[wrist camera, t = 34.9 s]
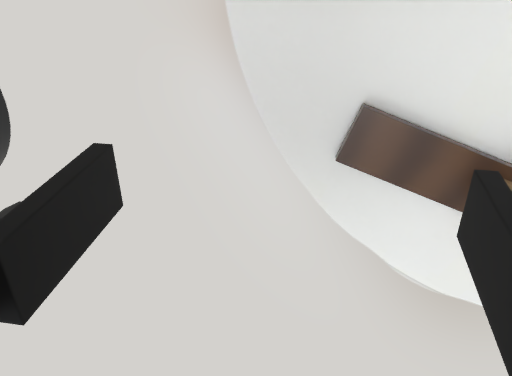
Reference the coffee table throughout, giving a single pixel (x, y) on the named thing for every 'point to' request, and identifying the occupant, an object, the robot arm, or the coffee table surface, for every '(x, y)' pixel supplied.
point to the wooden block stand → (415, 157)
